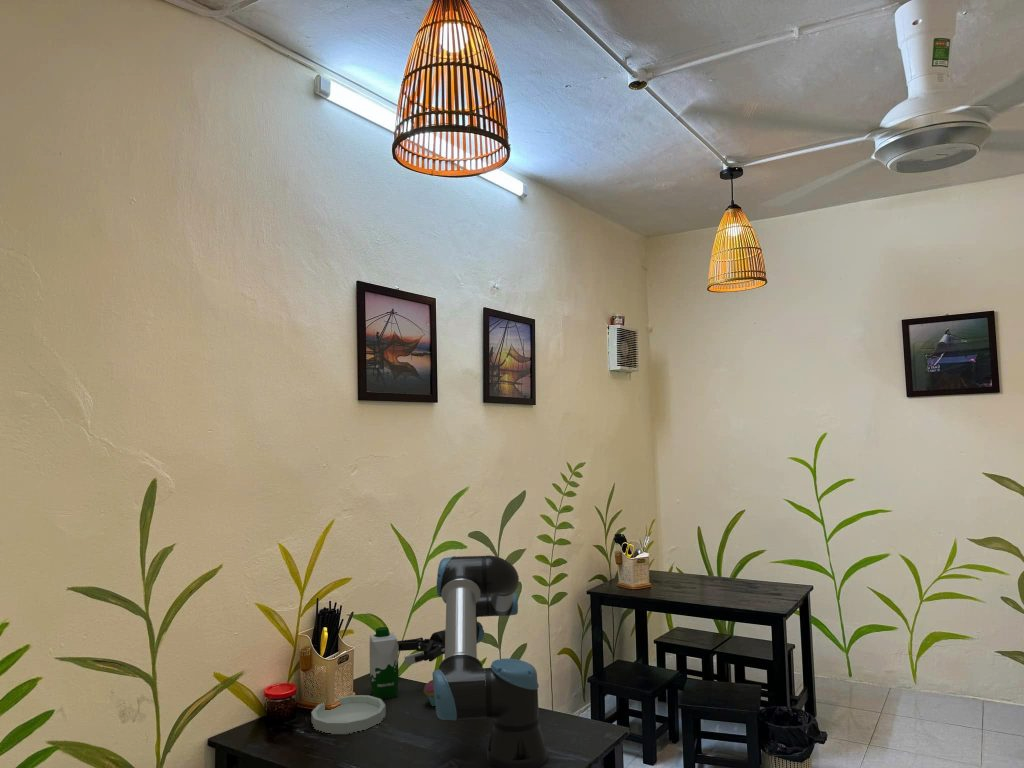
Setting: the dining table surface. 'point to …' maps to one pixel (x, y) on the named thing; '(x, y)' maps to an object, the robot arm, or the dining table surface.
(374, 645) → the soya milk
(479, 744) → the dining table surface
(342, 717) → the round tray
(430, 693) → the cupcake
